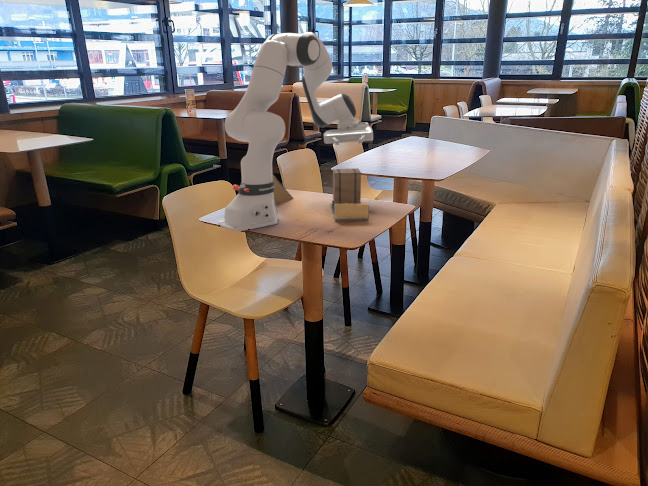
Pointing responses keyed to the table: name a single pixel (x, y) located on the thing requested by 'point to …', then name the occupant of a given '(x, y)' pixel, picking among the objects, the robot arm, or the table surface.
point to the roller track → (349, 211)
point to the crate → (346, 186)
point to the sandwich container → (280, 192)
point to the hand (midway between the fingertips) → (348, 142)
